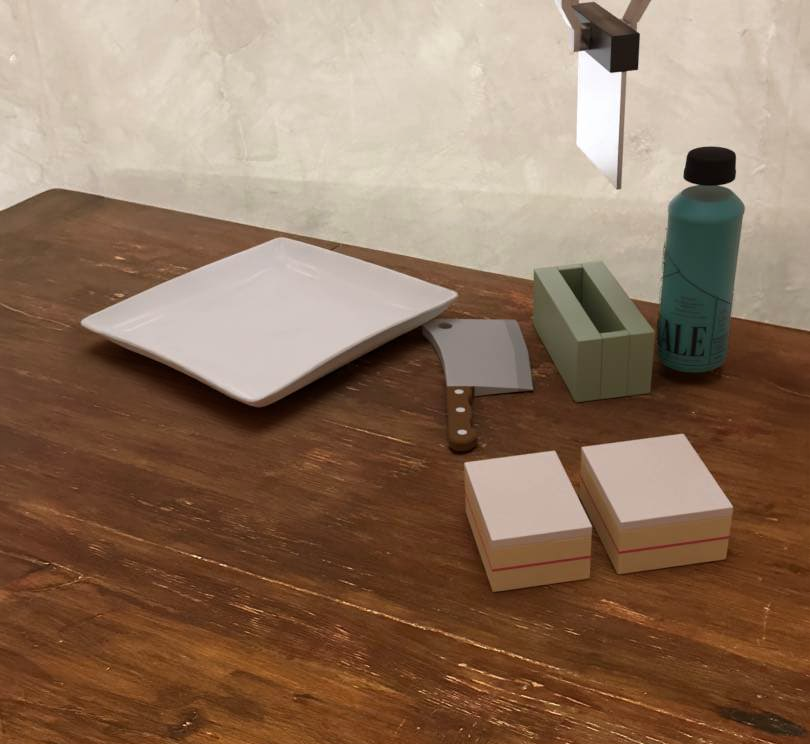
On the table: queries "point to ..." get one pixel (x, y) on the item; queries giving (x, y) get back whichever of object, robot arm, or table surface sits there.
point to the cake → (654, 504)
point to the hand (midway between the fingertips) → (602, 47)
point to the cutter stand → (592, 331)
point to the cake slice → (527, 521)
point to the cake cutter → (604, 88)
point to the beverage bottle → (700, 264)
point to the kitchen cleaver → (477, 367)
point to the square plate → (270, 318)
